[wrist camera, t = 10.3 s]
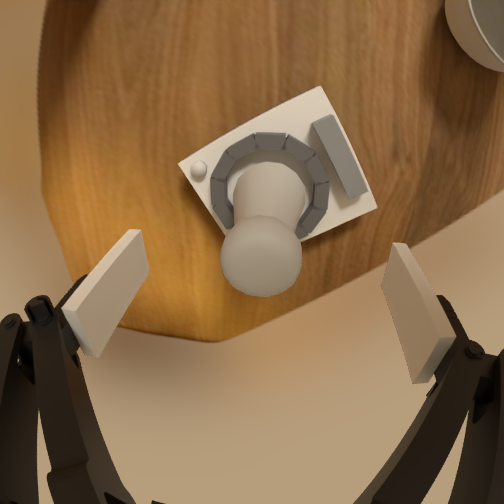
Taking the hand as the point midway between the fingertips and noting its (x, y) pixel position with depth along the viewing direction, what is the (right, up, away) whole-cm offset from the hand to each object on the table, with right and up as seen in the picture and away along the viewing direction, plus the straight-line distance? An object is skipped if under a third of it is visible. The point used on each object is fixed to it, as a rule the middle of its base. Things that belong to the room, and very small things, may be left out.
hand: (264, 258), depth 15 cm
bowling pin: (+1, +6, +11) cm, 13 cm away
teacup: (+22, +25, +1) cm, 34 cm away
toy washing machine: (+2, +8, +13) cm, 16 cm away
